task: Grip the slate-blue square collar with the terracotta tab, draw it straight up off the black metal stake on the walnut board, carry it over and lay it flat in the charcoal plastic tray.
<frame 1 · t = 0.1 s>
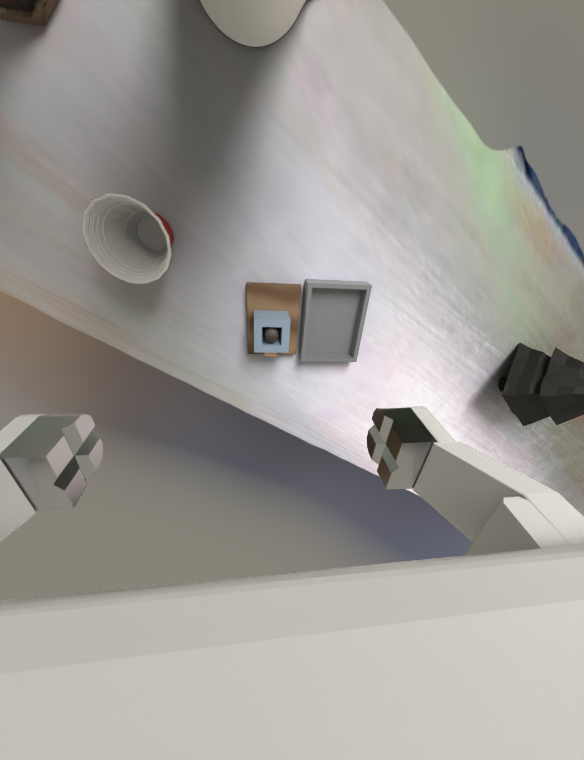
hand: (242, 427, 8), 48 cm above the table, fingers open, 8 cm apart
tray: (330, 320, 58), on the table
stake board: (272, 319, 56), on the table
collar: (270, 326, 55), point 1 cm above the table, touching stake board
plastic cup: (155, 235, 47), on the table
decorative tree: (529, 359, 70), on the table
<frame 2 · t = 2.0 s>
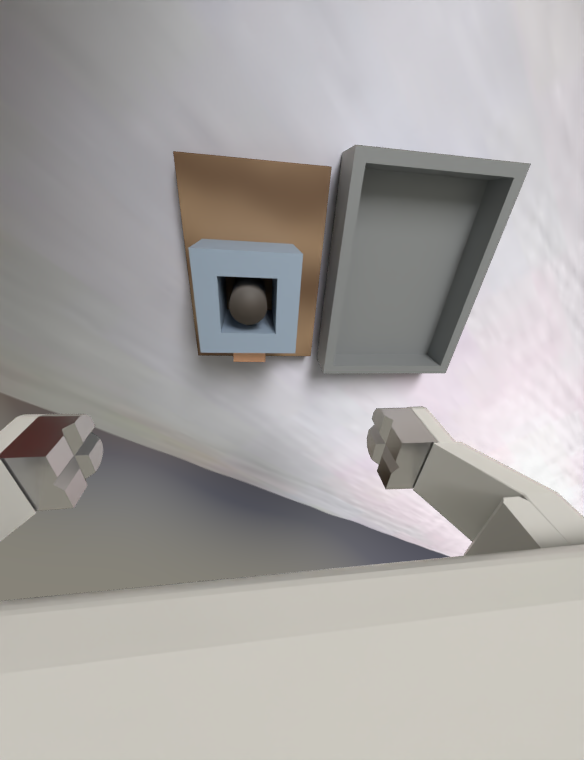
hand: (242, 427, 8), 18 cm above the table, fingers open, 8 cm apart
tray: (394, 276, 24), on the table
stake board: (255, 270, 23), on the table
collar: (249, 287, 22), point 1 cm above the table, touching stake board
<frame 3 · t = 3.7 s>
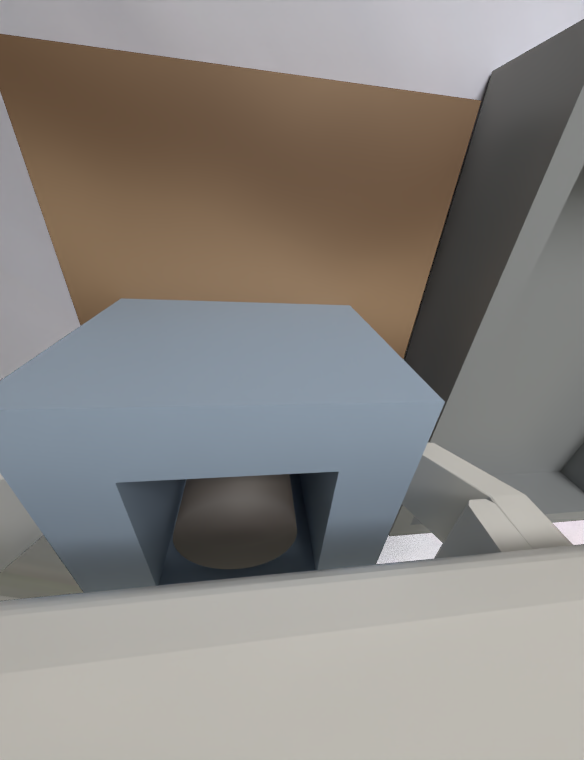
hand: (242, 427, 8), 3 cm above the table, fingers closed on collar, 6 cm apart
tray: (536, 352, 12), on the table
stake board: (258, 350, 11), on the table
collar: (244, 395, 10), point 1 cm above the table, touching gripper, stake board
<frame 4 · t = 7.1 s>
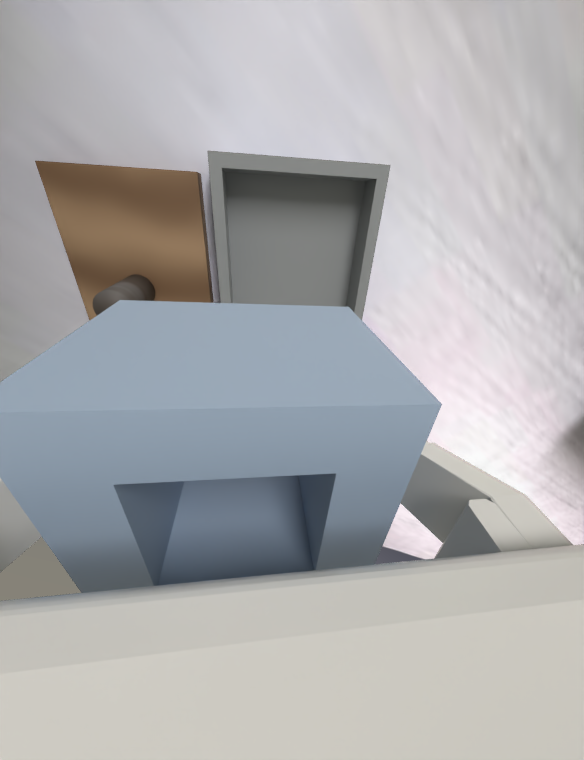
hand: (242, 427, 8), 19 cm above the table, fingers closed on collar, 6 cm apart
tray: (291, 277, 25), on the table
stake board: (149, 273, 23), on the table
collar: (243, 396, 10), point 18 cm above the table, touching gripper
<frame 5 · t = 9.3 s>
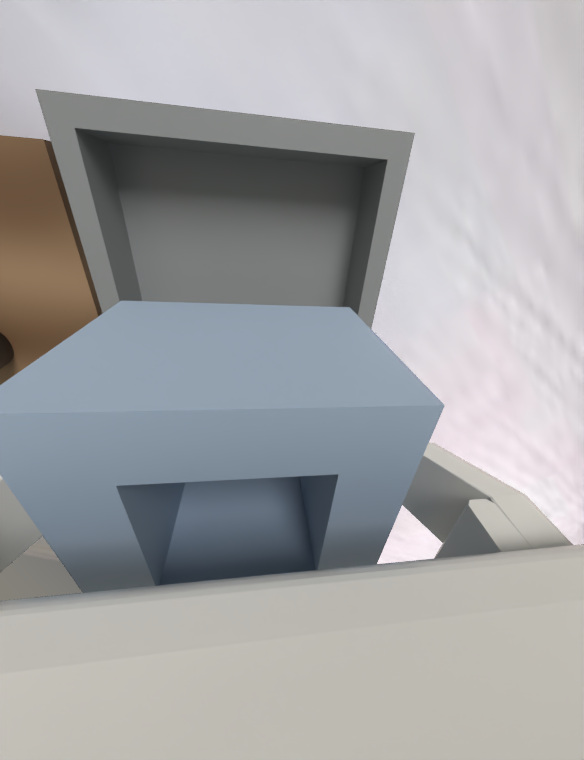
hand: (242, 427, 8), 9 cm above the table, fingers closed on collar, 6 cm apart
tray: (248, 319, 16), on the table
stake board: (8, 314, 14), on the table
collar: (244, 396, 10), point 7 cm above the table, touching gripper
when the fingers open (4 cm above the table, at t = 10.8 s): collar drops 2 cm, resting on tray.
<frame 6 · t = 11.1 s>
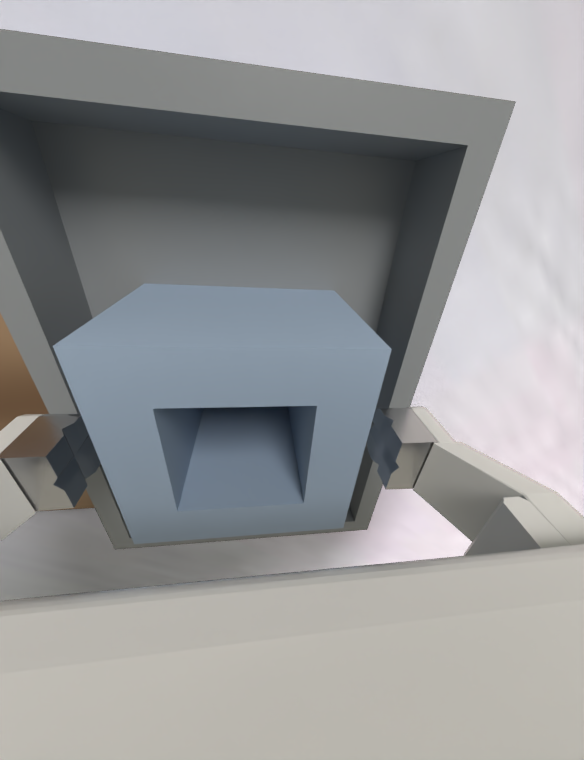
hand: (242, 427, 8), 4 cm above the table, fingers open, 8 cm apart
tray: (246, 363, 12), on the table
collar: (245, 368, 11), point 1 cm above the table, touching tray
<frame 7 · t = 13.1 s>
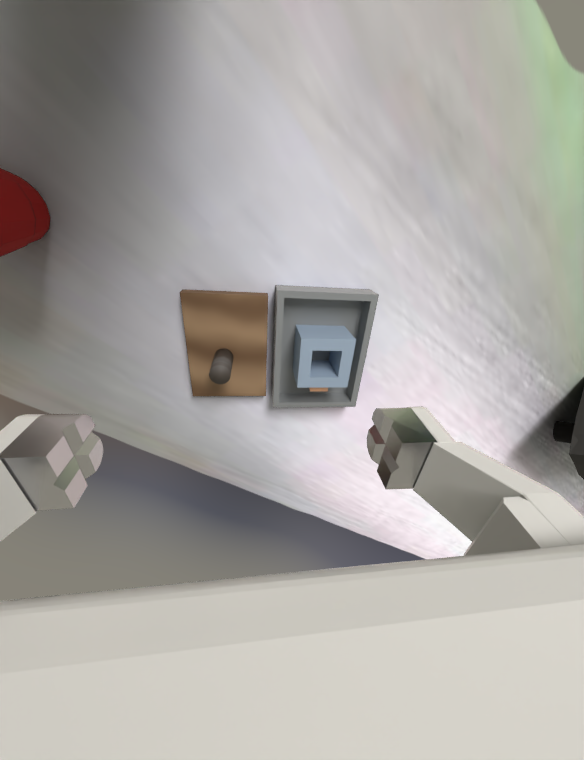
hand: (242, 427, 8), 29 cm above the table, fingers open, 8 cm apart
tray: (316, 346, 39), on the table
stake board: (228, 345, 37), on the table
collar: (317, 348, 38), point 1 cm above the table, touching tray
plastic cup: (18, 210, 28), on the table
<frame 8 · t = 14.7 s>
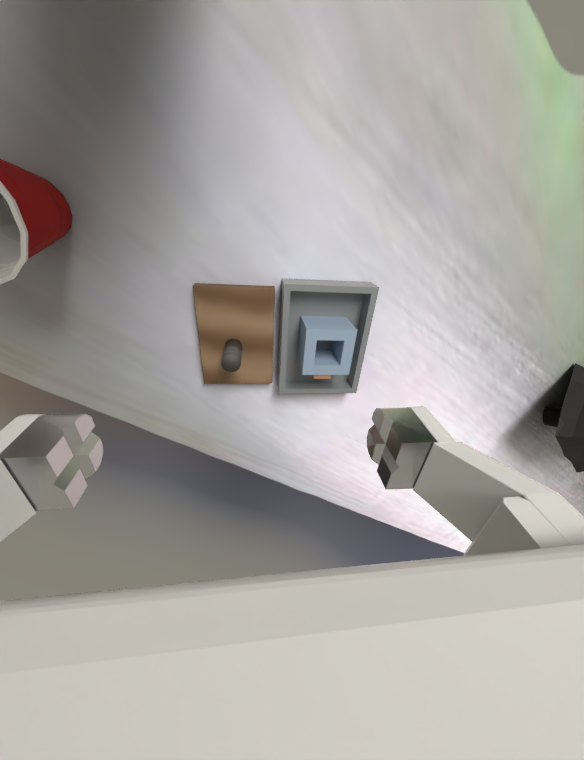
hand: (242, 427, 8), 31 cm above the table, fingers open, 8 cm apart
tray: (320, 336, 41), on the table
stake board: (237, 335, 40), on the table
collar: (321, 338, 41), point 1 cm above the table, touching tray
plastic cup: (42, 209, 30), on the table
decorative tree: (583, 384, 53), on the table
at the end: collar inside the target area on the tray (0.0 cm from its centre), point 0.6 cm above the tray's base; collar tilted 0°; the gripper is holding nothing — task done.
